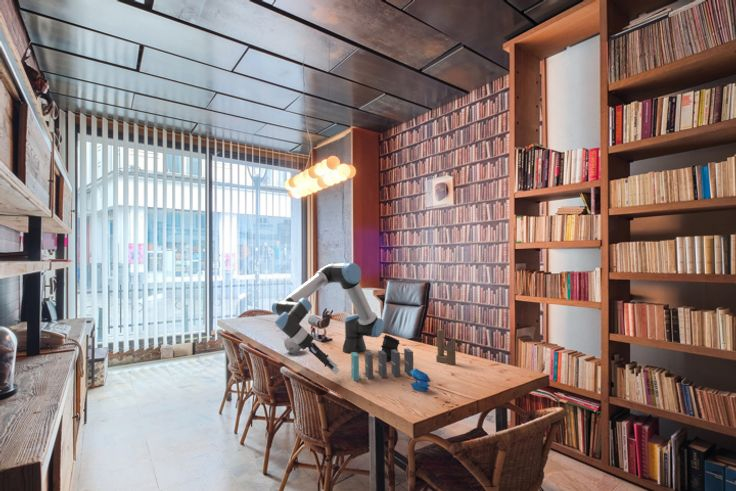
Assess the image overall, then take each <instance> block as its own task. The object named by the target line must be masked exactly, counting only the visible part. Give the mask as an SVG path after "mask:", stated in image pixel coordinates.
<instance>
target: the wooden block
mask: <svg viewBox="0 0 736 491" xmlns="http://www.w3.org/2000/svg"><path fill="white" fill-rule="evenodd" d="M436 330H437V331H436V332H437V333H436V334H437V338H436V339H437V354H436V356H435V357H436V362H438V363H440V364H441V363H442V364H446V365H449V366H454V365H457V362H456V360H457V359H456V356H457V355H456V338H453V339H452V338H451V339H450V340H449V341H448V343H447V344H446V345H445V336H444V333H445V332H444V329H436ZM445 352H446V355H445Z"/></svg>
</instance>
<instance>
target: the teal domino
mask: <svg viewBox="0 0 736 491" xmlns="http://www.w3.org/2000/svg"><path fill="white" fill-rule="evenodd" d="M350 354H351V355H350V358H351V359H350V360H351V362H350V363H351V364H350V366H351V372H350V374H351V378H352V380H353V381H354V382H356V381H357V382H358V381H360V356H359V353H356V352H351V353H350Z"/></svg>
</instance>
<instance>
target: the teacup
mask: <svg viewBox="0 0 736 491" xmlns="http://www.w3.org/2000/svg"><path fill="white" fill-rule="evenodd" d="M283 343H284V347H285V350H287V352H288V353H289V354H297V353H299V352H300V350H302V349H301V348H300V347H299V346H298V344H296V343H295V342H294V341H293V342H292V339H291V338H290V337H287V338H285V339H284V340H283Z"/></svg>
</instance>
